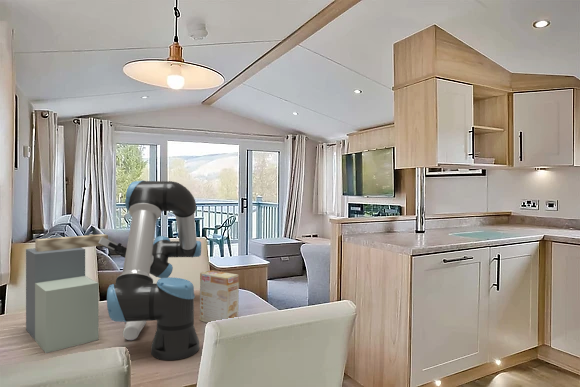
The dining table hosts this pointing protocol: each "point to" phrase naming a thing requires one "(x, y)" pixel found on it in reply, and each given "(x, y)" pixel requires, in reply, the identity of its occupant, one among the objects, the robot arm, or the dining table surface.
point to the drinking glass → (133, 329)
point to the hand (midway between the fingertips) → (94, 238)
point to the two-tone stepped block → (60, 299)
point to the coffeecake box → (218, 295)
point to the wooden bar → (68, 242)
